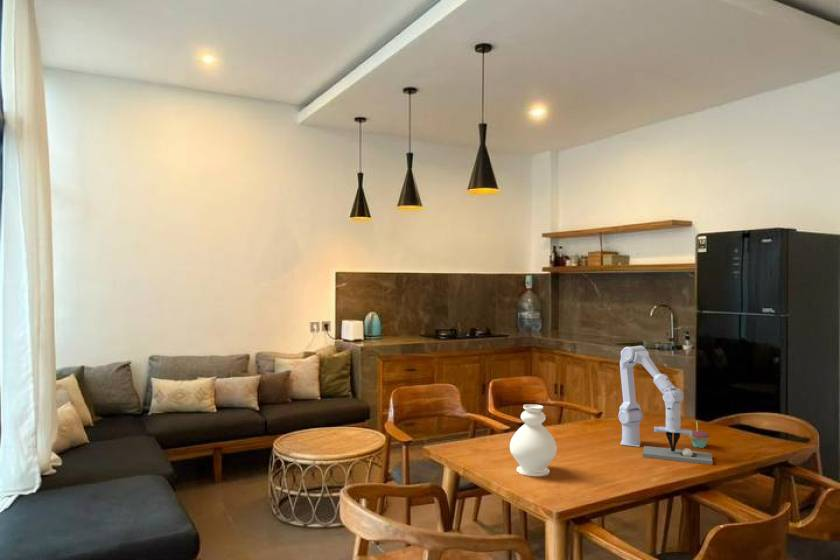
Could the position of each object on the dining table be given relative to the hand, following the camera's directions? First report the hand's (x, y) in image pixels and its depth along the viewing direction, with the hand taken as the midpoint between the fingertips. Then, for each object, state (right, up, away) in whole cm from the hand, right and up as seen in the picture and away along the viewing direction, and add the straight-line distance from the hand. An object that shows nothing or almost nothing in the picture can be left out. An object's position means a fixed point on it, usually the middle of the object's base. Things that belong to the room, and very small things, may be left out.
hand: (672, 450), depth 245 cm
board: (+1, -2, -1) cm, 3 cm away
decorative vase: (-62, -3, -18) cm, 65 cm away
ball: (+5, 0, -2) cm, 5 cm away
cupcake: (+18, -3, +15) cm, 23 cm away
